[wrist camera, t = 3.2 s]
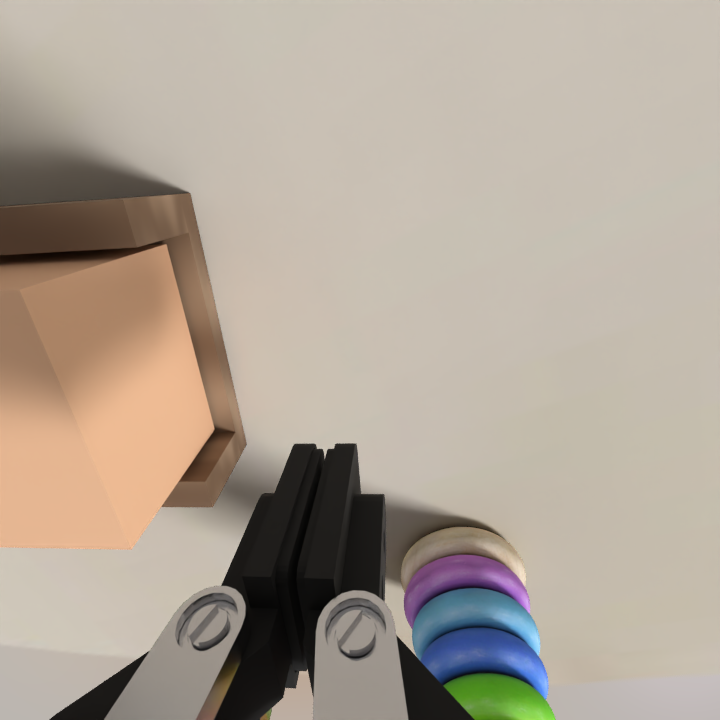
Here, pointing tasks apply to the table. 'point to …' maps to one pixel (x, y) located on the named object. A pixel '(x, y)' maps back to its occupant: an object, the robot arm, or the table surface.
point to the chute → (180, 232)
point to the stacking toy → (476, 623)
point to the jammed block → (93, 396)
